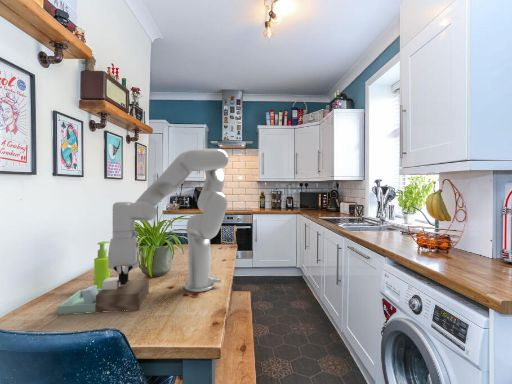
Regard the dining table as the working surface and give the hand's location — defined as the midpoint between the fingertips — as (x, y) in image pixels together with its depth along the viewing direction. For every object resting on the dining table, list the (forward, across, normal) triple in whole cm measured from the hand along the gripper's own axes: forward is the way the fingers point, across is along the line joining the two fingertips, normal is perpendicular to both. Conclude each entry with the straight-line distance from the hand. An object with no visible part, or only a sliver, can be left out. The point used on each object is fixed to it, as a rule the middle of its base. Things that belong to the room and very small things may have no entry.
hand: (123, 283), depth 107 cm
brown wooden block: (+7, 0, 0) cm, 7 cm away
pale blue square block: (+4, +10, -1) cm, 11 cm away
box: (+7, +13, 0) cm, 15 cm away
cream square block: (+1, +4, 0) cm, 4 cm away
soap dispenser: (+7, +14, -18) cm, 24 cm away
